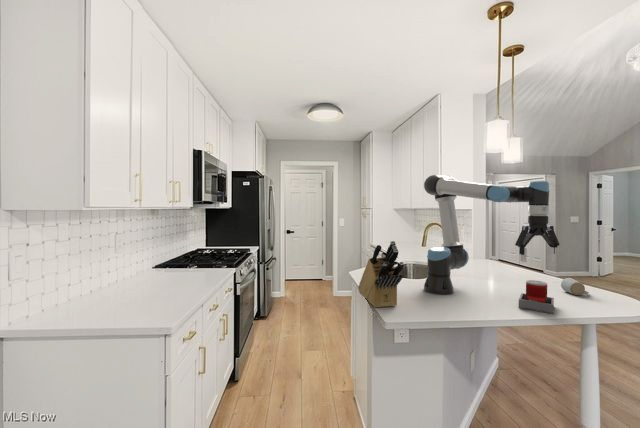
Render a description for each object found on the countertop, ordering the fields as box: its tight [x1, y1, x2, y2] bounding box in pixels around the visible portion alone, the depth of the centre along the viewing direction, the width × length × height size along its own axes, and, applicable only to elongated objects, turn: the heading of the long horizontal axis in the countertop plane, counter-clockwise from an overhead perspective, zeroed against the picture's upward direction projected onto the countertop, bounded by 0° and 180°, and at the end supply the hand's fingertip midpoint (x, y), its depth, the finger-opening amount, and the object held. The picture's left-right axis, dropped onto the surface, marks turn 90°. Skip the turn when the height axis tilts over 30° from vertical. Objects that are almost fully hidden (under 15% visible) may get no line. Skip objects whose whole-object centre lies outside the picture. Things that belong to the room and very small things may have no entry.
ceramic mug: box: [560, 277, 590, 296], centre depth 163 cm, size 11×8×8 cm
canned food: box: [525, 280, 548, 303], centre depth 141 cm, size 8×8×11 cm
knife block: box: [357, 240, 405, 308], centre depth 148 cm, size 11×35×31 cm, turn 9°
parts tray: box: [518, 292, 555, 315], centre depth 141 cm, size 13×13×4 cm
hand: (536, 261), depth 141 cm, fingers open, 13 cm apart
